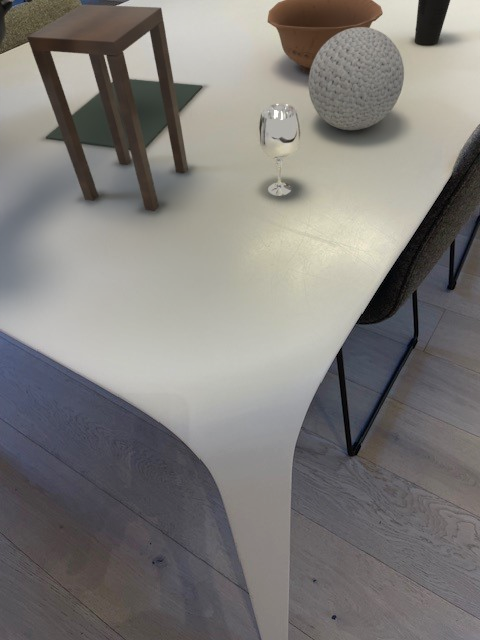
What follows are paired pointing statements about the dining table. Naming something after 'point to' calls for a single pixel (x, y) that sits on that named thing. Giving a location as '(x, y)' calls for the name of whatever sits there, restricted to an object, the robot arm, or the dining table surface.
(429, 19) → the drinking cup
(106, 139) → the place mat
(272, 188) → the wineglass
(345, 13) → the bowl
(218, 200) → the dining table surface
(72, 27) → the stand
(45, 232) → the dining table surface
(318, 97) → the decorative ball
